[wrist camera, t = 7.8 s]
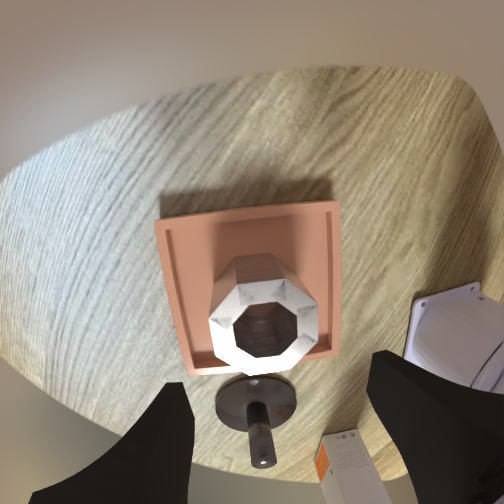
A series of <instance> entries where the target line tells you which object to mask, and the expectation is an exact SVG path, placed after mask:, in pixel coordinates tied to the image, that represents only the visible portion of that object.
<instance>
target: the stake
mask: <svg viewBox="0 0 504 504" xmlns="http://www.w3.org/2000/svg"><path fill="white" fill-rule="evenodd" d="M296 405H297V401H296V397H295V394H294V391H293V390H292V388H291V387H290V386H289V385H288V384H287V383H285V382H283V381H281V380H279V379H276V378H272V377H266V376H253V377H246V378H243V379H239V380H237V381H234V382H232V383H230V384H229V385H227V386H226V387H225V388H223V389H222V391H221V392H220V393H219V395H218V396H217V399H216V414H217V416H218V418H219V419H220V420H221V421H222V422H223V423H224V424H225V425H227V426H228V427H230V428H232V429H235V430H238V431H243V432H248V435H249V445H250V454H251V463H252V466H253V467H255V468H258V469H266V468H270V467H272V466H274V465H275V464H276V463H277V459H276V454H275V448H274V443H273V438H272V432H271V429H273V428H276V427H278V426H280V425H282V424H283V423H285V422H286V421H287V420H288V419H289V418H290V417H291V416H292V415H293V413H294V411H295V409H296Z"/></svg>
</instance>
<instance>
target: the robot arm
mask: <svg viewBox="0 0 504 504" xmlns="http://www.w3.org/2000/svg"><path fill="white" fill-rule="evenodd" d="M479 289H480V283H479V282H473V283H470V284H467V285H464V286H461V287H458V288H454V289H451V290H448V291H444V292H441V293H437V294H434V295H430V296H427V297H423V298H419V299H417V300H415V301H414V303H413V307H412V314H411V320H410V326H409V332H408V338H407V343H406V348H405V353H404V357H403V358H402V357H400V356H398V355H396V354H394V353H392V352H390V351H388V350H383V351H379V352H376V353H373V355H372V361H371V368H370V373H369V379H368V384H367V389H366V391H367V394H368V396H369V399H370V401H371V404H372V406H373V408H374V410H375V412H376V414H377V415H378V417H379V419H380V420H381V422H382V424H383V425H384V427H385V429H386V430H387V432H388V433H389V435H390V437H391V438H392V440H393V442H394V443H395V445H396V447H397V448H398V450H399V452H400V454H401V456H402V458H403V460H404V463H405V465H406V468H407V470H408V472H409V475H410V478H411V481H412V483H413V486H414V489H415V493H416V496H417V499H418V503H419V504H504V305H502V304H500V303H499V302H497V301H495V300H493V299H491V298H490V297H488V296H486V295H484V294H482V293H480V292H479ZM422 303H423V304H422ZM421 367H423V368H424V369H423V368H421ZM194 436H195V418H194V415H193V412H192V409H191V406H190V403H189V401H188V398H187V395H186V392H185V389H184V386H183V382H174V383H166V384H165V385H164V387H163V388H162V389H161V391H160V392H159V393H158V395H157V396H156V397H155V399H154V400H153V401H152V403H151V404H150V405H149V407H148V408H147V409H146V410H145V412H144V413H143V414H142V415H141V417H140V418H139V419H138V420H137V422H136V423H135V424H134V425H133V426H132V427H131V428H130V429H129V431H128V432H127V433H126V434H125V435H124V436H123V437H122V438H121V439H120V440H119V441H118V442H117V443H116V444H115V445H114V446H113V447H112V448H111V449H109V450H108V451H107V452H106V453H105V454H104V455H102V456H101V457H100V458H99V459H97V460H96V461H94V462H93V463H92V464H90V465H89V466H88V467H86V468H84V469H83V470H81V471H80V472H78V473H77V474H75V475H73V476H71V477H69V478H67V479H65V480H63V481H61V482H59V483H57V484H55V485H52V486H50V487H47V488H44V489H42V490H39V491H36V492H33V494H32V496H31V498H30V501H29V503H28V504H187V503H188V502H187V495H188V483H189V475H190V468H191V462H192V455H193V447H194Z"/></svg>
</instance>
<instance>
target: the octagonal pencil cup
mask: <svg viewBox="0 0 504 504" xmlns="http://www.w3.org/2000/svg"><path fill="white" fill-rule="evenodd" d="M276 301H277V302H279V303H278V304H277V305H276V306H275V307H274V308H273V309H272V310H271V311H270V313H269V314H264V315H256V316H248V315H246V314H245V313H243V312H244V311H245V309H246V308H247V307H248V306H249V305H253V304H261V303H269V302H276ZM209 324H210V330H211V335H212V340H213V345H214V350H215V355H216V356H217V357H219V358H220V359H222V360H224V361H225V362H227V363H229V364H230V365H232V366H234V367H236V368H237V369H239V370H241V371H243V372H244V373H246V374H248V375H256V374H264V373H271V372H277V371H284V370H290V369H291V368H292V367H293V366H294V365H295V364H296V363H297V362H298V361H299V360H300V359H301V358H302V357H303V356H304V355H305V354H306V353H307V352H308V351H309V350H310V349H311V348H312V347H313V346H314V345H315V344H316V343H317V342H318V303H317V302H316V301H315V299H314V298H313V296H312V295H311V294H310V292H309V291H308V289H307V288H306V287H305V285H304V284H303V283H302V281H301V280H300V278H299V277H298V276H297V274H296V273H295V272H294V271H293V270H291V269H290V268H289V267H288V266H286V265H285V264H284V263H283V262H281V261H280V260H279V259H277V258H276V257H275V256H274V255H272V254H271V253H262V254H253V255H245V256H236V257H234V258H233V260H232V261H231V262H230V263H229V264H228V266H227V267H226V268H225V269H224V271H223V272H222V273H221V274H220V275H219V277H218V278H217V279H216V280H215V282H214V283H213V290H212V297H211V304H210V311H209Z"/></svg>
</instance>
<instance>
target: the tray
mask: <svg viewBox="0 0 504 504" xmlns="http://www.w3.org/2000/svg"><path fill="white" fill-rule="evenodd" d="M154 224H155V231H156V237H157V243H158V249H159V254H160V260H161V265H162V270H163V276H164V280H165V285H166V290H167V295H168V299H169V304H170V308H171V312H172V317H173V321H174V325H175V329H176V333H177V337H178V341H179V344H180V348H181V352H182V356H183V359H184V363H185V366H186V370H187V373H188V376H189V375H205V374H218V373H229V372H239V371H241V370H239V369H237V368H236V367H234V366H232V365H230V364H229V363H227V362H225V361H224V360H222V359H220V358H219V357H217V356H216V355H215V350H214V345H213V340H212V335H211V330H210V324H209V311H210V304H211V297H212V290H213V283H214V282H215V280H216V279H217V278H218V277H219V275H220V274H221V273H222V272H223V271H224V269H225V268H226V267H227V266H228V264H229V263H230V262H231V261H232V260H233V258H234V257H236V256H245V255H253V254H262V253H271V254H272V255H274V256H275V257H276V258H277V259H279V260H280V261H281V262H283V263H284V264H285V265H286V266H288V267H289V268H290V269H291V270H293V271H294V272H295V273H296V274H297V276H298V277H299V278H300V280H301V281H302V283H303V284H304V285H305V287H306V288H307V289H308V291H309V292H310V294H311V295H312V296H313V298H314V299H315V301H316V302H317V303H318V342H317V343H316V344H315V345H314V346H313V347H312V348H311V349H310V350H309V351H308V352H307V353H306V354H305V355H304V356H303V357H302V358H301V359H300V360H299V361H298V362H297V363H301V362H306V361H312V360H317V359H322V358H327V357H331V356H336V355H339V343H340V324H341V290H342V255H341V221H340V202H339V201H337V200H331V199H330V200H316V201H304V202H292V203H282V204H271V205H261V206H252V207H243V208H234V209H225V210H217V211H209V212H201V213H194V214H186V215H179V216H172V217H165V218H160V219H158V220H156V221H154ZM278 303H279V302H277V301H276V302H269V303H261V304H253V305H249V306H248V307H247V308H246V309H245V311H244V312H243V313H245V314H246V315H248V316H256V315H264V314H269V313H270V311H271V310H272V309H273V308H274V307H275V306H276V305H277V304H278Z"/></svg>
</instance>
